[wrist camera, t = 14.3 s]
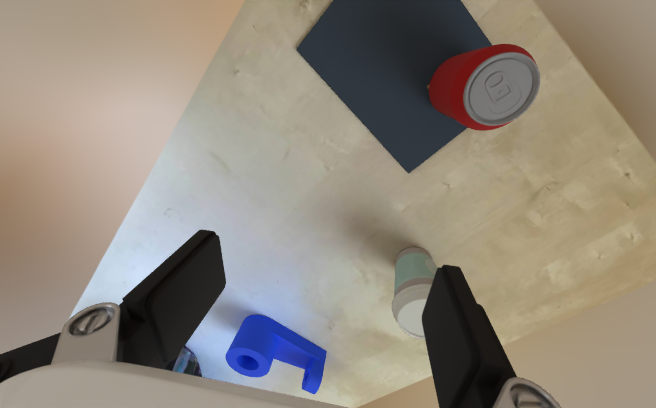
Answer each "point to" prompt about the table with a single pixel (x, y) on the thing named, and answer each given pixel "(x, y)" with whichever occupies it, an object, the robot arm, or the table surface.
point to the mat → (393, 66)
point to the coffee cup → (412, 289)
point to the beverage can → (485, 86)
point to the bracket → (274, 351)
